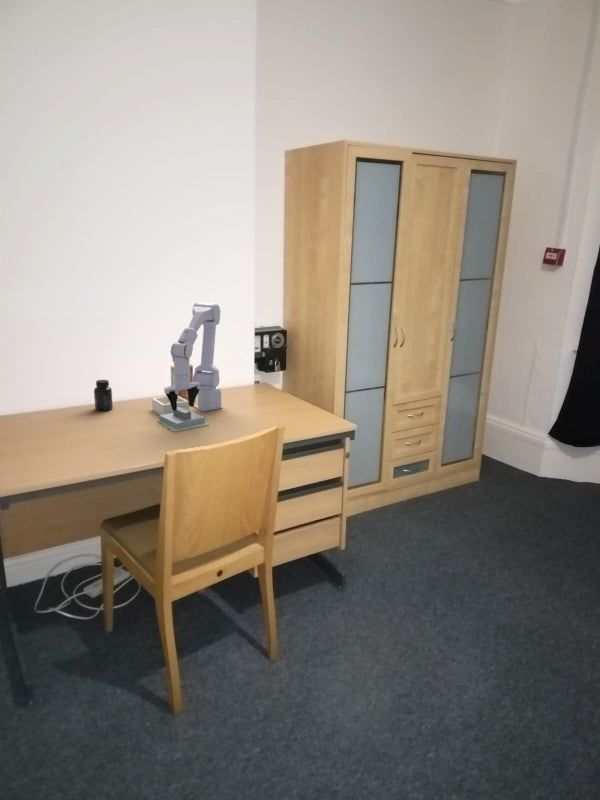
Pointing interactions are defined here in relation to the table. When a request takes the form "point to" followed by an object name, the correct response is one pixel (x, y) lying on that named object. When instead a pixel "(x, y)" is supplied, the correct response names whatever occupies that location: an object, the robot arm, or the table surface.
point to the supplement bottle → (103, 396)
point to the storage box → (167, 405)
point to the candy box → (180, 393)
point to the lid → (181, 418)
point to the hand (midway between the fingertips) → (182, 408)
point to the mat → (184, 427)
